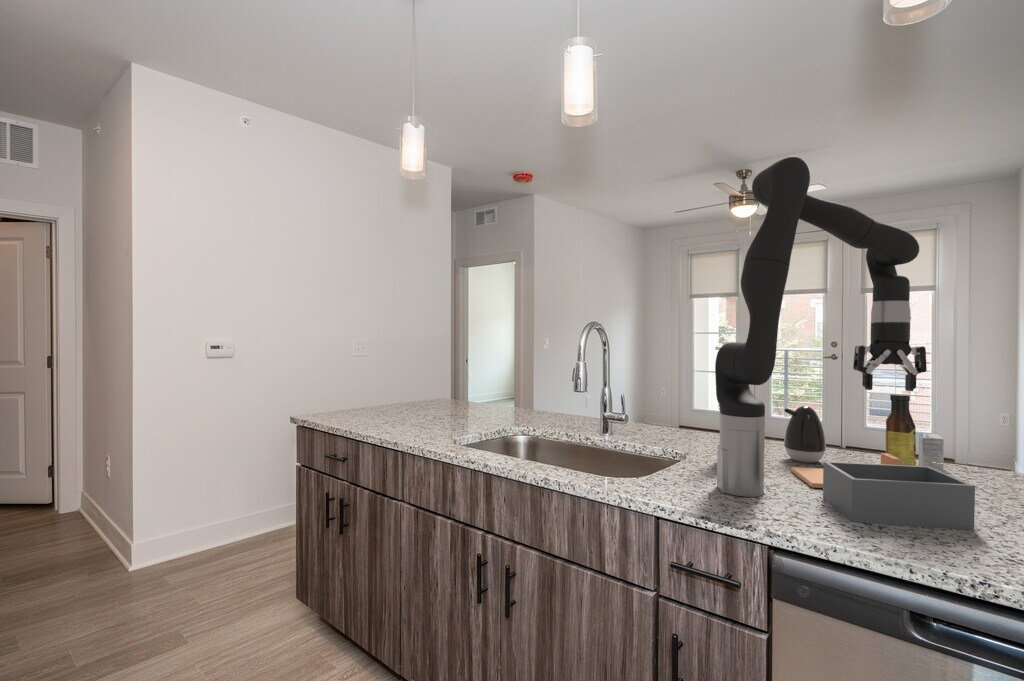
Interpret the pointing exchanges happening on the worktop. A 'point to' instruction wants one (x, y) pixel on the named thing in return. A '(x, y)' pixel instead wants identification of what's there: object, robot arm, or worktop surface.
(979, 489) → the worktop surface
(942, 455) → the medicine box
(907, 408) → the sauce bottle
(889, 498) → the tub
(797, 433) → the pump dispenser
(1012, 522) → the worktop surface
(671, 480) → the worktop surface
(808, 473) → the lid
